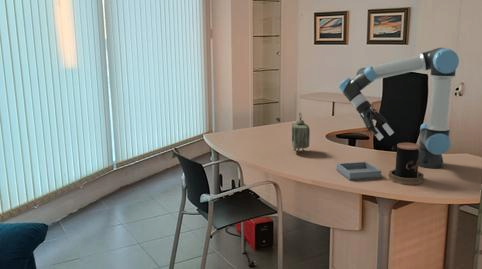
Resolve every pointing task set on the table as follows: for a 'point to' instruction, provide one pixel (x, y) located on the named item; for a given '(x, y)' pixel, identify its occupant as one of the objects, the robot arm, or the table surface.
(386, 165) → the table surface
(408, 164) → the coffee jar
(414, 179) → the ring guard
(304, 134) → the green lantern
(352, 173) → the tray
